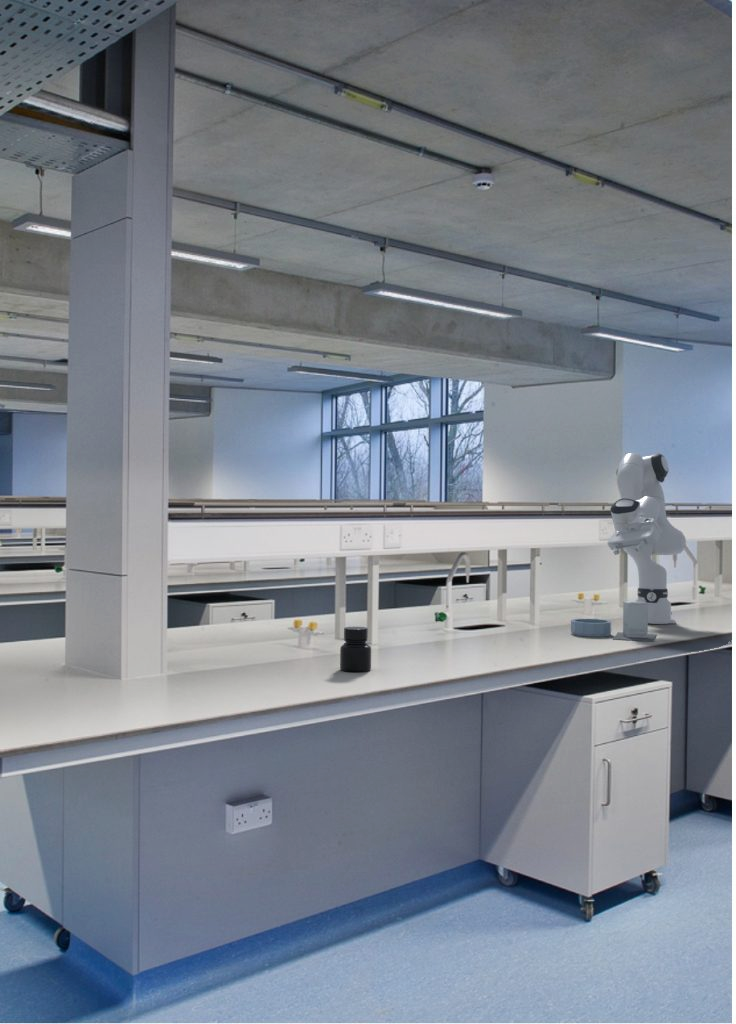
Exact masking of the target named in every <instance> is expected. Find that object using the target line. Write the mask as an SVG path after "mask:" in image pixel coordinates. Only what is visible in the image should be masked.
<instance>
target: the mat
mask: <svg viewBox="0 0 736 1024" xmlns="http://www.w3.org/2000/svg"><path fill="white" fill-rule="evenodd" d="M656 637H657V633H648V637H647V638H630V637H626V636H624V635H623V631H622V632H620V631H619V632H617V633H616V634H615V636H613V638H612V640H613V641H614V640H616V641H630V640H632V641H633V642H650V643H652V642H655V640H656Z"/></svg>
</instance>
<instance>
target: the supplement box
mask: <svg viewBox="0 0 736 1024" xmlns="http://www.w3.org/2000/svg"><path fill="white" fill-rule="evenodd" d="M648 624H649V623H648V603H645V602H634V601H623V605H622V632H623V635H624V636H626V637H630V638H647V637H648V634H649V632H648V631H649V630H648V629H649V625H648Z"/></svg>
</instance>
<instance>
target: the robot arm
mask: <svg viewBox="0 0 736 1024" xmlns="http://www.w3.org/2000/svg"><path fill="white" fill-rule="evenodd" d="M668 473H669V463H668V460H667V459H666V457H665V456H664V455H663V454H661V453H653V454H651V455H648V456H642V455H640V453H639V454H638V453H637V452H630V453H627V454H625V455H623V456H622V459H621V460H620V462H619V465H618V467H617V469H616V471H615V474H616V484H617V488H618V492H619V495H620V499H617V500H616V501H614V503H613V504H612V505H611V506H610V507H609V508H610V509H609V510H610V514H611V518H612V523H613V527H614V530H615V532H613V534H611V536H610V538H608V541H607V546H608V547H609V549H610V550H612V551H613V555H614V556H617V555H620V553H621V551H620V550H622V549H623V551H624V552H625V553H627V554H628V555H629V556H630V557H631V558H632V559H633V561H634V563H635V565H636V567H637V574H638V587H637V598H636V599H635V600H634V601H633V602H645V603H648V624H649V625H651V624H653V625H654V624H655V625H658V624H659V625H665V624H666V625H667V624H677V620H676V619H674V618H672V614H673V613H672V603H671V601H669V600H668V595H669V591H668V588H667V586H668V585H667V569H666V568H665V567H664V566H663V565H661V564H660V563H657V562H655V561H653V559H652V556H673V555H678V554H681V553H683V551H684V550H685V548H686V544H687V540H686V536H685V535H684V533H683V532H682V531H681V530H679V529H678V528H676V527H675V526H674V525H673V524H671V522H670V521H669V520H668V517H667V511H666V499H665V494H664V490H663V487H662V483H664V482H665V478H666V477H667V476H668ZM660 483H661V484H660Z"/></svg>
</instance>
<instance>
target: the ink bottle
mask: <svg viewBox="0 0 736 1024" xmlns="http://www.w3.org/2000/svg"><path fill="white" fill-rule="evenodd" d="M368 631H369V629H368V627H366V626H346V627H344V628H343V640H344V643H343V644H342V645H341V646H340V650H339V651H340V654H339V655H340V656H339V658H340V659H339V669H340V670H341V671H343V672H349V673H363V672H369V671H370V670H371V669H372V646H371V645H369V643H367V642H368V638H369V637H368V634H369V632H368Z"/></svg>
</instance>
